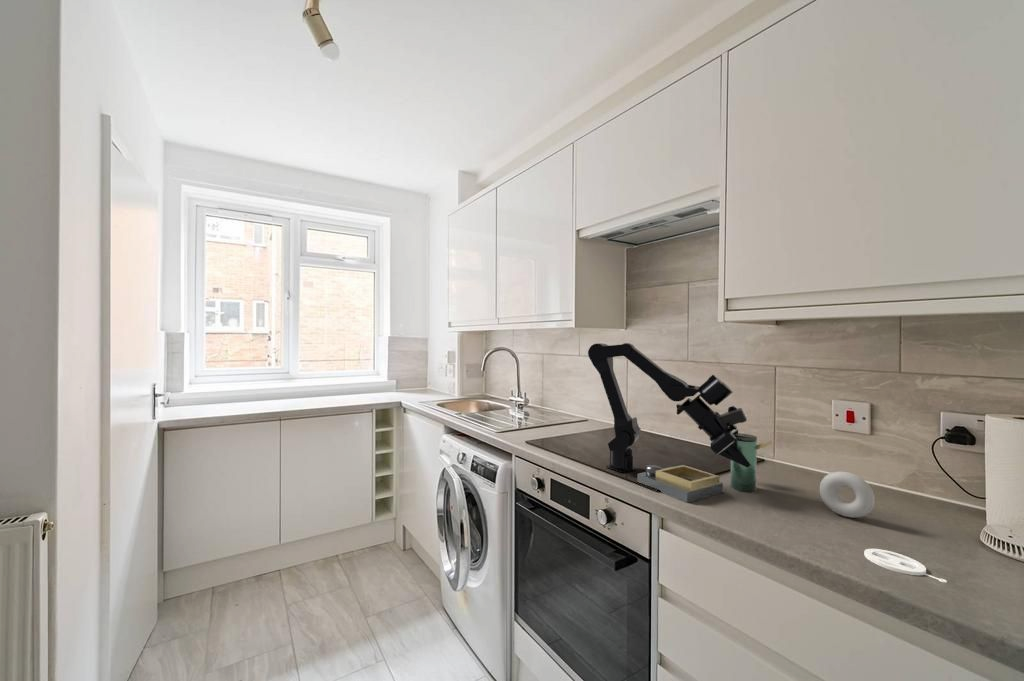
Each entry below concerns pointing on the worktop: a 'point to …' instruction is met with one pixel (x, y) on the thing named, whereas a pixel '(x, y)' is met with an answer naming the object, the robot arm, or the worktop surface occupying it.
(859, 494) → the donut
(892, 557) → the pendant
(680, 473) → the grey tray base
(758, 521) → the worktop surface
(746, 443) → the spout can
